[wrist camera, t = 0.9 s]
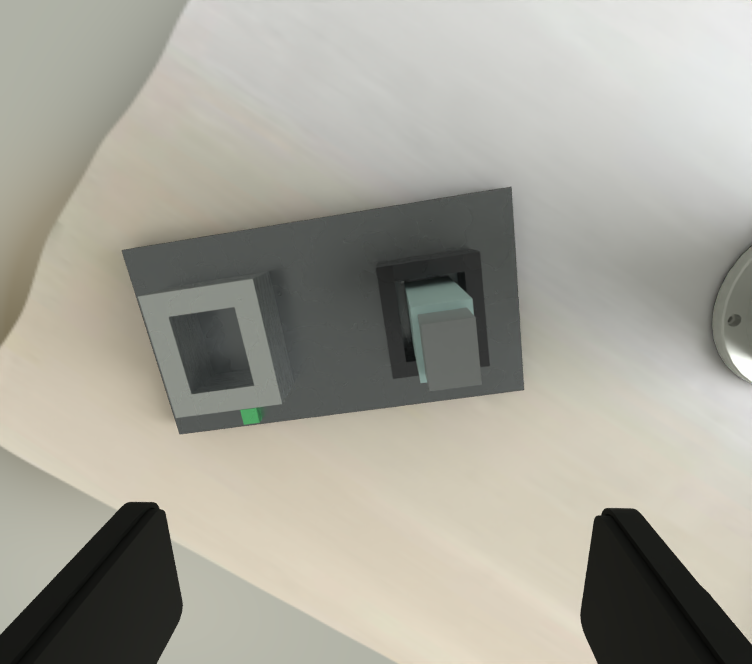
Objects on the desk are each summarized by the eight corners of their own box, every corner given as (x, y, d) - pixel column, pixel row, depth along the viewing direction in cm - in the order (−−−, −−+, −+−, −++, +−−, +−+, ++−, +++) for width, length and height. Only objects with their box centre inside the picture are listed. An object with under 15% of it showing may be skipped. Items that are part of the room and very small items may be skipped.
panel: (504, 188, 27) (530, 181, 22) (517, 381, 31) (541, 412, 26) (134, 248, 29) (84, 254, 24) (188, 424, 32) (154, 460, 28)
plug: (448, 275, 27) (481, 307, 18) (454, 332, 28) (489, 391, 19) (403, 282, 27) (412, 317, 18) (411, 338, 28) (423, 400, 19)
